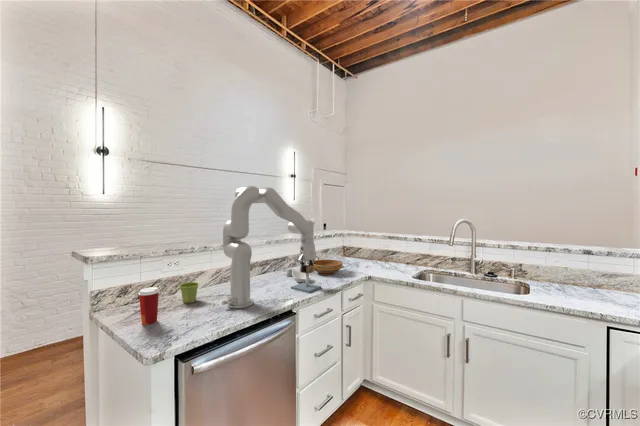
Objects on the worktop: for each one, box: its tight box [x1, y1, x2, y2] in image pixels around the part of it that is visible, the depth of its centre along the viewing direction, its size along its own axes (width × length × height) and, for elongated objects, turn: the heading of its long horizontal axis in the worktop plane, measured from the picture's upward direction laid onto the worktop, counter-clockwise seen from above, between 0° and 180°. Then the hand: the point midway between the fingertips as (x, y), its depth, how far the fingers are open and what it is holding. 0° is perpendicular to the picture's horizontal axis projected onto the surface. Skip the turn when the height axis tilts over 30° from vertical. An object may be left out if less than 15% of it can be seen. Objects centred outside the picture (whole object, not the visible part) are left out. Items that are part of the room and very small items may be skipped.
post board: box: [290, 273, 322, 294], centre depth 168 cm, size 12×14×9 cm
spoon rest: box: [285, 267, 312, 284], centre depth 189 cm, size 24×12×7 cm, turn 36°
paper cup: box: [138, 286, 160, 326], centre depth 119 cm, size 8×8×14 cm
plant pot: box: [179, 281, 200, 304], centre depth 145 cm, size 9×9×9 cm
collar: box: [299, 264, 315, 275], centre depth 169 cm, size 6×6×4 cm
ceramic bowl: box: [313, 259, 345, 276], centre depth 207 cm, size 30×24×8 cm
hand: (307, 270), depth 169 cm, fingers closed on collar, 6 cm apart
